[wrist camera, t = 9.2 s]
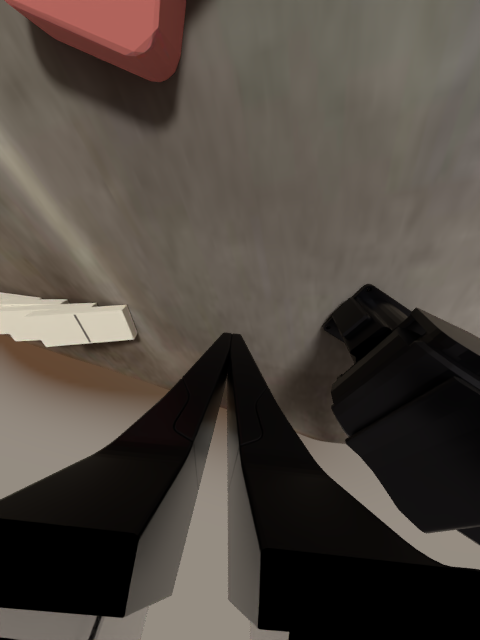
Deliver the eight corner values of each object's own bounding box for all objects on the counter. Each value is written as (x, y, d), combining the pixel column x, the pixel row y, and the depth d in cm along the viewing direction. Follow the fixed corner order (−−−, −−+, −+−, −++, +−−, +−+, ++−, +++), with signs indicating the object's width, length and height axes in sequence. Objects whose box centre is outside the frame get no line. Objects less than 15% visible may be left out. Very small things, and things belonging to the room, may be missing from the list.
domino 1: (121, 310, 24) (23, 316, 23) (133, 339, 27) (45, 347, 26) (126, 304, 26) (34, 310, 24) (137, 333, 28) (54, 339, 27)
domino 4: (31, 302, 27) (-64, 290, 25) (43, 329, 29) (-43, 320, 28) (41, 297, 28) (-48, 285, 27) (52, 324, 31) (-29, 314, 29)
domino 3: (59, 304, 26) (-40, 304, 24) (74, 332, 29) (-15, 334, 27) (67, 299, 27) (-26, 299, 26) (80, 326, 30) (-4, 328, 28)
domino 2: (89, 308, 25) (-9, 311, 24) (103, 336, 28) (15, 341, 26) (96, 302, 27) (3, 305, 25) (108, 330, 29) (25, 334, 28)
